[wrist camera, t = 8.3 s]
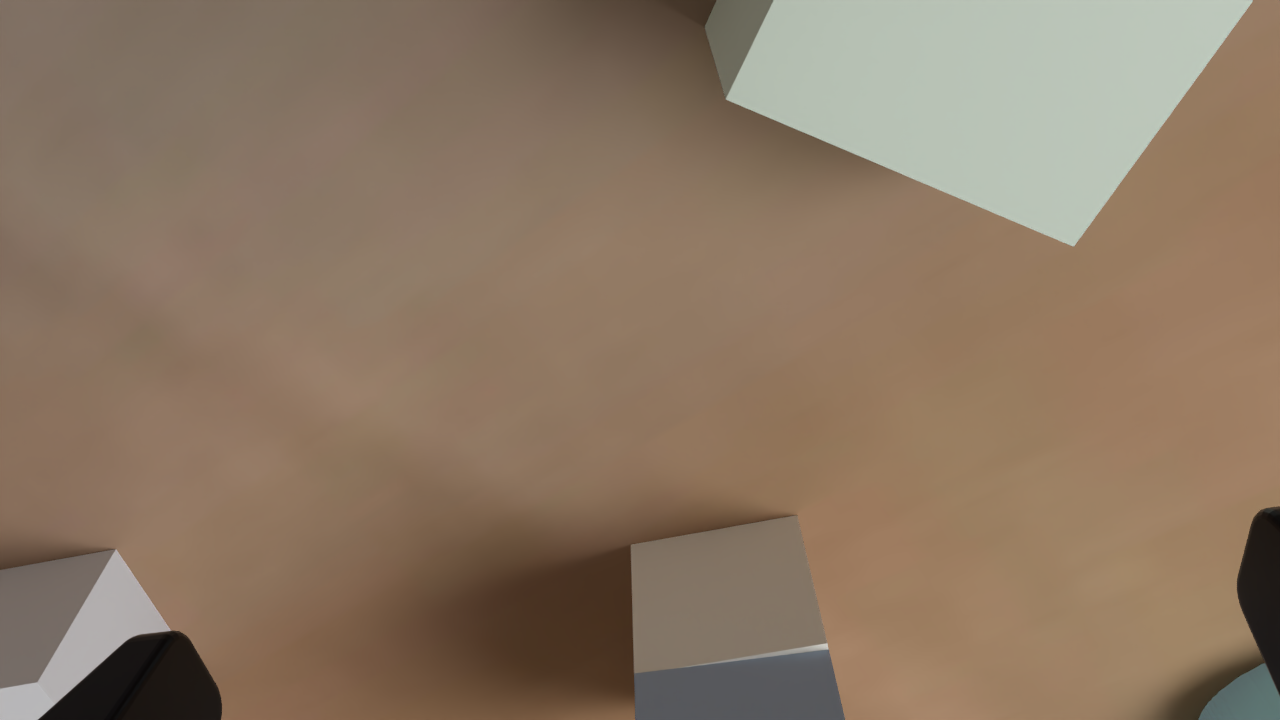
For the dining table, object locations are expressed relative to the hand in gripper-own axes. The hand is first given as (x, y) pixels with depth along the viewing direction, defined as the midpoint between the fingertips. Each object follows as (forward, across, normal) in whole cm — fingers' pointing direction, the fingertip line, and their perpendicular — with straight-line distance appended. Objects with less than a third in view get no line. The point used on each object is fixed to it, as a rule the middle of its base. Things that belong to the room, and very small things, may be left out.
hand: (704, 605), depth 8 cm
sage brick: (+12, -4, -2) cm, 13 cm away
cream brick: (+12, 0, +13) cm, 18 cm away
